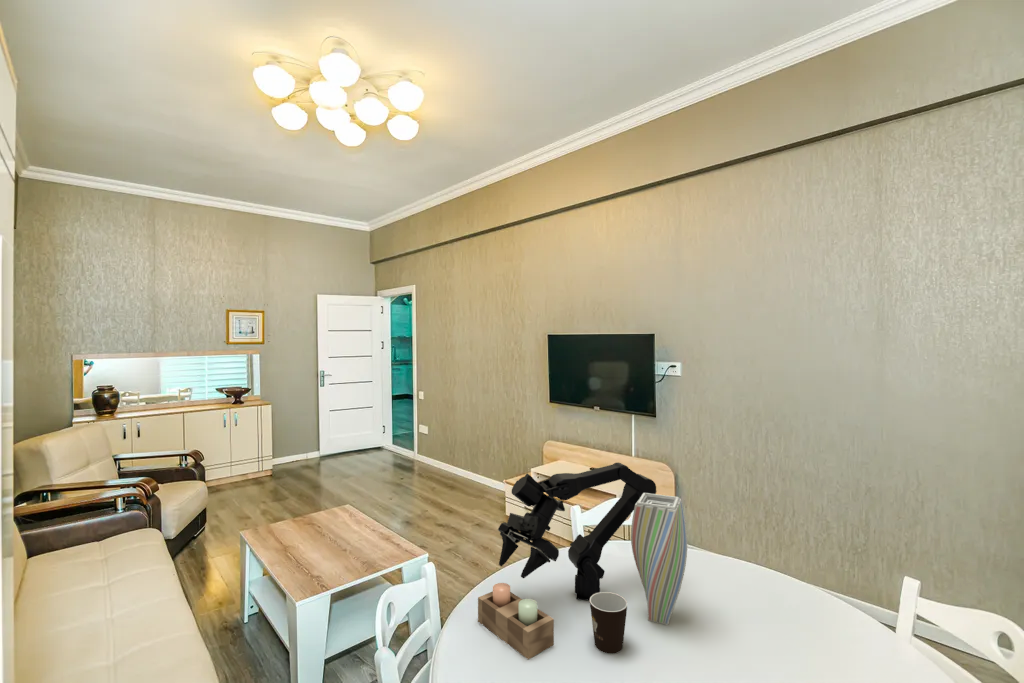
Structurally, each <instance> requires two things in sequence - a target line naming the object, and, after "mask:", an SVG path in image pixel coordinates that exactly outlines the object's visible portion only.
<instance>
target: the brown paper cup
mask: <svg viewBox="0 0 1024 683" xmlns="http://www.w3.org/2000/svg"><path fill="white" fill-rule="evenodd" d="M589 606H590V607H589V608H590V616H591V624H592V632H593V640H594V646H595V648H596V649H597V650H598V651H600V652H602V653H604V654H610V655H611V654H612V655H614V654H618V653H620V652H621V651H622V650H623V648H624V647H623V646H624V638H625V629H626V622H627V610H628V601H627V599H626V598H625V597H623V596H622V595H620V594H618V593H616V592H610V591H600V592H599V593H594V594H593V595H592V596H591V597H590V601H589Z"/></svg>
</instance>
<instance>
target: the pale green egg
mask: <svg viewBox="0 0 1024 683" xmlns="http://www.w3.org/2000/svg"><path fill="white" fill-rule="evenodd" d="M537 609H538V602H537V600H534V599H532V598H524V599H523V600H521V601H520V602H519V621H520V622H521V623H523V624H524V625H526V626H529V625H531V624H533V623H535V622H537Z"/></svg>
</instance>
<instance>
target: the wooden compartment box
mask: <svg viewBox="0 0 1024 683" xmlns="http://www.w3.org/2000/svg"><path fill="white" fill-rule="evenodd" d="M521 600H523V599H522V597H519V596H518V595H516V594H515V593H513V592H511V591H510V603H509V604H507V605H505V606H503V607H500V608H499V607H498V606H496V605H495V604H493V590H492V591H490V592H488V593H485V594H483V595H480V596H478V597H477V623H479V624H481V626H484V628H486V629H487V630H489V631H490V632H491V633H493V635H495V636H497V637H498V638H499V639H500V640H501V641H502V642H504V643H506V645H508V646H510V648H512V649H514V650H515V651H516V652H517V653H519V654H520V655H522V656H523V657H524V658H526V659H527V660H530V659H532V658H534V657H536V656H537V655H539V654H541V653H542V652H544V651H546V650H548V649H550V648H552V647H553V646H554V645H555V618H553V617H552V616H550V615H549V614H547V613H545V612H544V611H542V610H540V609H538V608H537V622H535V623H533V624H531V625H529V626H526V625H524V624H523V623H521V622H520V621H519V602H520V601H521Z"/></svg>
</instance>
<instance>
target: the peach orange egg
mask: <svg viewBox="0 0 1024 683" xmlns="http://www.w3.org/2000/svg"><path fill="white" fill-rule="evenodd" d="M492 591H493V604H495V605H496V606H498V607H499V608H500V607H503V606H505V605H507V604H509V603H510V592H511V585H510V584H508V583H505V582H497V583H495V584H494V585H492Z"/></svg>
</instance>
